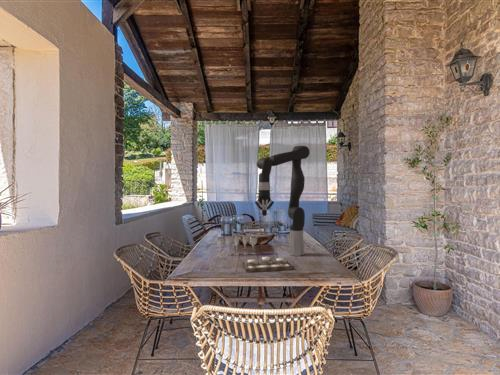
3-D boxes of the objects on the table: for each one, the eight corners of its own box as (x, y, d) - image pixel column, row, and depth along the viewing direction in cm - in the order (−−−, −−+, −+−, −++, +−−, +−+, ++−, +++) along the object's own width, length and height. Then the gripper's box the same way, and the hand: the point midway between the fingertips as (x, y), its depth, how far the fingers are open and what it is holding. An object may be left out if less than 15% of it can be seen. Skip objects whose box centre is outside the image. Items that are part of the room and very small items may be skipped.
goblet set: (216, 255, 260) (216, 236, 259) (217, 253, 265) (217, 235, 265) (257, 255, 261) (257, 236, 260) (256, 253, 267) (256, 234, 266)
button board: (285, 263, 238) (285, 256, 237) (293, 269, 222) (293, 262, 222) (241, 265, 232) (241, 259, 232) (246, 272, 217) (246, 265, 216)
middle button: (269, 259, 232) (269, 256, 232) (271, 261, 227) (271, 258, 227) (261, 260, 231) (261, 256, 231) (263, 261, 226) (262, 258, 226)
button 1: (254, 262, 230) (254, 259, 230) (256, 264, 225) (256, 261, 225) (246, 262, 229) (246, 259, 229) (248, 264, 224) (248, 261, 224)
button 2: (283, 260, 234) (283, 257, 233) (285, 262, 229) (285, 259, 228) (275, 261, 233) (275, 258, 232) (277, 263, 228) (277, 260, 228)
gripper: (272, 188, 249) (272, 214, 250) (253, 189, 247) (253, 215, 247) (275, 189, 242) (275, 216, 242) (255, 189, 239) (255, 216, 240)
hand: (264, 215), depth 245 cm, fingers closed
